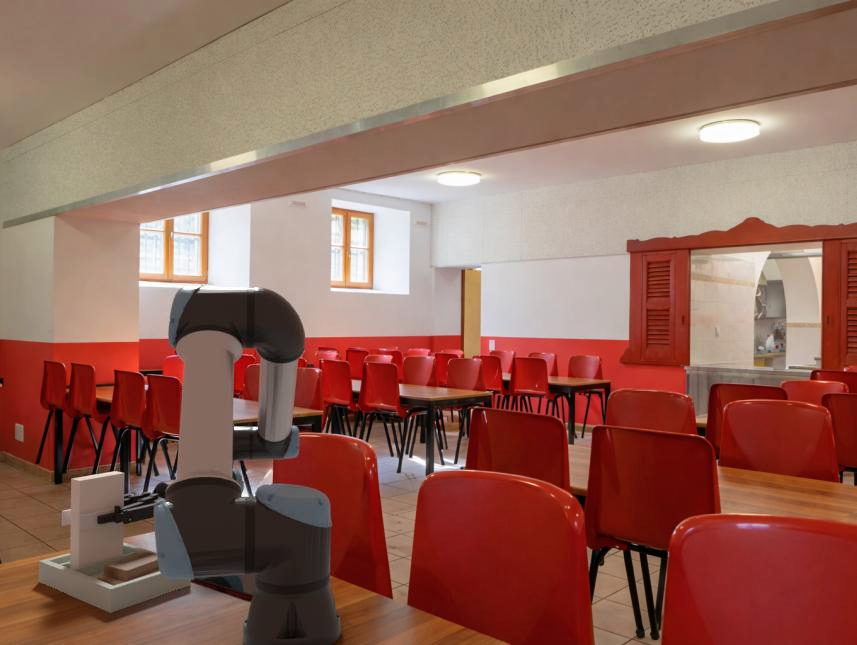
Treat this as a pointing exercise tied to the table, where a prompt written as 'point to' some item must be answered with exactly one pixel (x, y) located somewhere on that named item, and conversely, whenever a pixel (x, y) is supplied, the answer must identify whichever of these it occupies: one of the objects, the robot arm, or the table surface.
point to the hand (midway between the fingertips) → (70, 520)
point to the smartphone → (231, 584)
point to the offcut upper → (132, 566)
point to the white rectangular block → (92, 498)
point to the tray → (99, 593)
